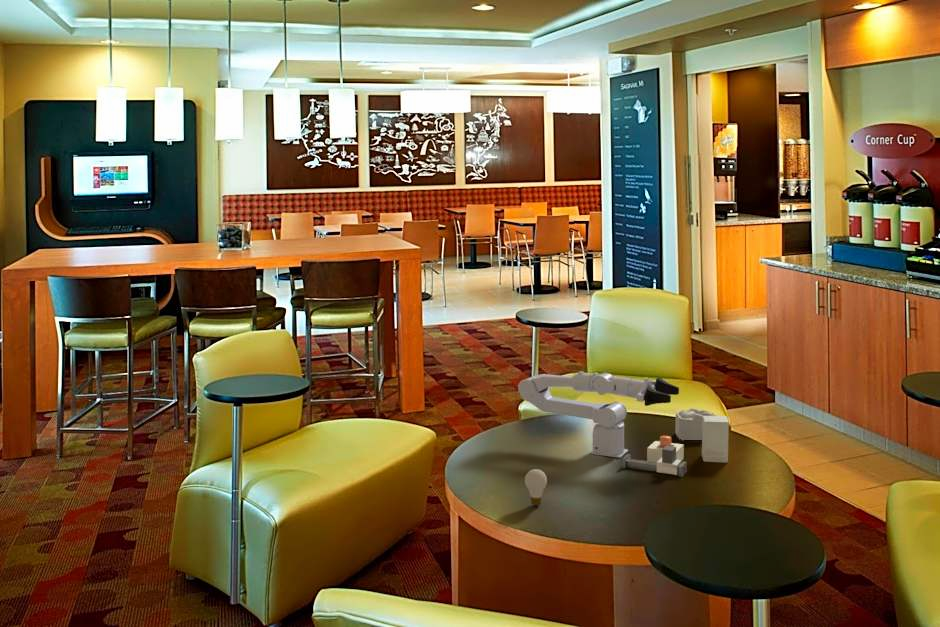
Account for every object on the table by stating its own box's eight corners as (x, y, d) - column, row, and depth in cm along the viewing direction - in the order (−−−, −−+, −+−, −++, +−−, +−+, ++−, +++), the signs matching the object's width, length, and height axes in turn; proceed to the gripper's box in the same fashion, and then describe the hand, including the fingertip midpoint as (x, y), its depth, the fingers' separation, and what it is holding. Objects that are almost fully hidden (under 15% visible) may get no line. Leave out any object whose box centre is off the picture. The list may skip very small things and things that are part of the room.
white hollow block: (647, 462, 266) (647, 447, 265) (654, 454, 273) (655, 440, 272) (676, 466, 262) (676, 451, 261) (683, 458, 268) (683, 444, 268)
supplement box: (728, 463, 264) (729, 422, 262) (702, 462, 265) (703, 421, 263) (726, 455, 271) (727, 415, 269) (701, 454, 272) (702, 415, 270)
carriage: (656, 472, 256) (656, 448, 255) (661, 467, 260) (661, 444, 259) (676, 474, 253) (677, 451, 252) (681, 470, 257) (681, 447, 256)
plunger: (658, 453, 266) (658, 438, 265) (661, 450, 269) (661, 435, 268) (669, 455, 264) (669, 439, 264) (672, 452, 267) (672, 436, 267)
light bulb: (532, 500, 237) (531, 464, 235) (551, 504, 233) (551, 468, 232) (521, 507, 232) (520, 470, 230) (540, 511, 229) (539, 474, 227)
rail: (622, 468, 261) (622, 458, 260) (627, 463, 265) (627, 453, 265) (681, 476, 252) (682, 466, 252) (686, 471, 257) (686, 461, 256)
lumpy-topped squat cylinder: (673, 432, 297) (674, 407, 295) (712, 431, 296) (713, 406, 295) (679, 441, 286) (680, 415, 285) (719, 440, 286) (720, 415, 285)
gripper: (622, 383, 262) (666, 390, 255) (640, 368, 274) (682, 375, 267) (622, 405, 264) (666, 412, 257) (639, 390, 276) (681, 396, 269)
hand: (674, 395), depth 262 cm, fingers open, 7 cm apart
